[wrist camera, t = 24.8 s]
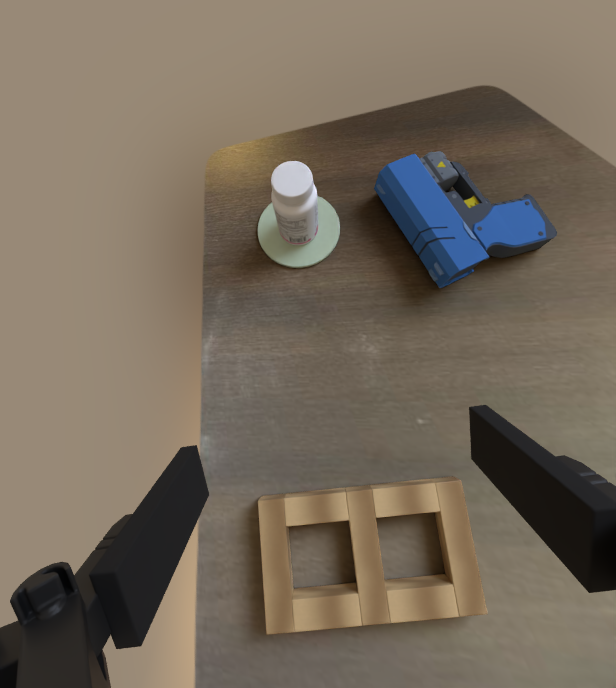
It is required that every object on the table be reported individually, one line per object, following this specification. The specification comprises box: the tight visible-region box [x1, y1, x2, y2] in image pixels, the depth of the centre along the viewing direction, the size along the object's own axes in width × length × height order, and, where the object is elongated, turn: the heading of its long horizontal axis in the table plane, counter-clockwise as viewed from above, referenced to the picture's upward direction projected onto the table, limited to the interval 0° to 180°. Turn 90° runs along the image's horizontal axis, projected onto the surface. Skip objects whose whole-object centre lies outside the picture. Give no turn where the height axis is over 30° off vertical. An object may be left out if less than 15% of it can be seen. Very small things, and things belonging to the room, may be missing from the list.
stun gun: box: [374, 151, 557, 288], centre depth 36 cm, size 4×16×15 cm
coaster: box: [258, 196, 340, 268], centre depth 38 cm, size 10×10×1 cm
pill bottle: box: [271, 161, 318, 245], centre depth 34 cm, size 5×5×8 cm
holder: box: [258, 476, 487, 635], centre depth 30 cm, size 20×11×2 cm, turn 96°
